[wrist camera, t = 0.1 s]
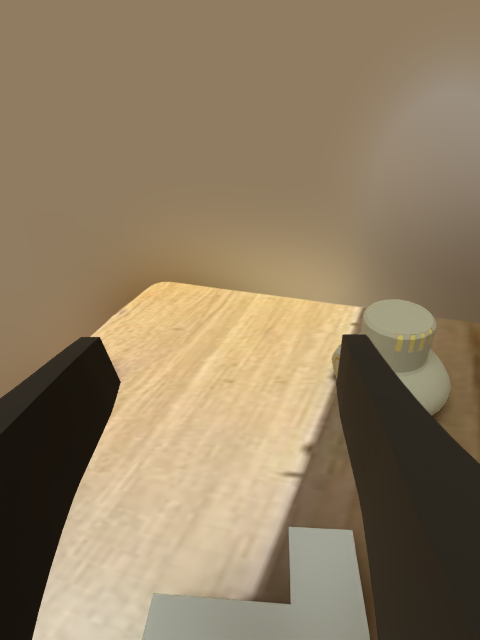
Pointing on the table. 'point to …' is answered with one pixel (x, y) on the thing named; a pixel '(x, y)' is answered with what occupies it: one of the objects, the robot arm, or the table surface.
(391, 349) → the air freshener
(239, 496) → the table surface
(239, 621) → the T block
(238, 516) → the table surface
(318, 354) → the table surface
